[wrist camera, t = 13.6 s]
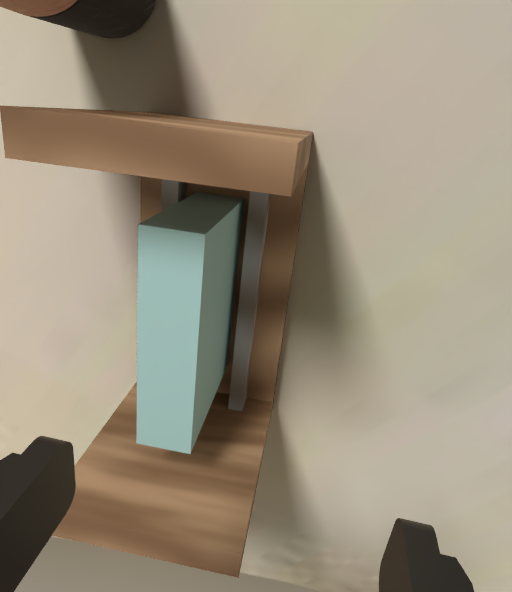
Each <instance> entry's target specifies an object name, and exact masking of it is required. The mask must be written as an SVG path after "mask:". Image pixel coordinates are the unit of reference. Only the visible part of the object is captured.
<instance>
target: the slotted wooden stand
mask: <svg viewBox="0 0 512 592" xmlns="http://www.w3.org/2000/svg"><path fill="white" fill-rule="evenodd" d="M0 112H1V122H2V131H3V141H4V150H5V158H11V159H18V160H25V161H33V162H40V163H47V164H55V165H62V166H69V167H77V168H84V169H91V170H99V171H106V172H113V173H121V174H128V175H135V176H141V223H142V222H143V221H145V220H147V219H149V218H151V217H153V216H154V215H156V214H158V213H160V212H162V211H164V210H165V209H167V208H169V207H171V206H173V205H175V204H176V203H178V202H180V201H182V200H184V199H186V198H187V197H189V196H191V195H193V194H195V193H197V192H202V193H209V194H216V195H223V196H231V197H238V198H244V208H243V218H242V228H241V238H240V248H239V258H238V268H237V278H236V288H235V299H234V309H233V319H232V329H231V339H230V349H229V359H228V365H227V368H226V370H225V372H224V375H223V377H222V380H221V382H220V384H219V387H218V389H217V392H216V394H215V396H214V399H213V401H212V404H211V406H210V409H209V411H208V413H207V416H206V418H205V421H204V423H203V425H202V428H201V430H200V433H199V435H198V437H197V440H196V442H195V445H194V447H193V449H192V452H191V454H187V453H182V452H177V451H172V450H167V449H162V448H157V447H152V446H147V445H142V444H137V443H136V436H137V382H136V383H135V385H134V386H133V387H132V389H131V390H130V392H129V393H128V394H127V396H126V397H125V398H124V400H123V401H122V402H121V404H120V405H119V406H118V408H117V409H116V411H115V412H114V413H113V415H112V416H111V417H110V419H109V420H108V421H107V423H106V424H105V425H104V427H103V428H102V430H101V431H100V432H99V434H98V435H97V436H96V438H95V439H94V440H93V442H92V443H91V445H90V446H89V447H88V449H87V450H86V451H85V453H84V454H83V455H82V457H81V458H80V459H79V461H78V462H77V464H76V465H75V466H74V468H75V481H76V489H75V494H74V498H73V501H72V504H71V506H70V508H69V510H68V512H67V513H66V515H65V516H64V518H63V519H62V521H61V522H60V524H59V525H58V527H57V528H56V530H55V531H54V533H53V534H52V535H53V536H57V537H62V538H66V539H71V540H75V541H79V542H84V543H88V544H93V545H97V546H101V547H106V548H110V549H115V550H119V551H123V552H128V553H132V554H137V555H141V556H146V557H150V558H154V559H159V560H163V561H168V562H172V563H176V564H181V565H185V566H190V567H195V568H199V569H203V570H208V571H212V572H216V573H221V574H226V575H229V576H234V577H239V573H240V568H241V563H242V558H243V553H244V547H245V542H246V537H247V532H248V527H249V522H250V517H251V512H252V507H253V502H254V497H255V492H256V487H257V482H258V477H259V472H260V467H261V462H262V457H263V452H264V447H265V442H266V437H267V432H268V427H269V422H270V417H271V412H272V405H273V398H274V392H275V385H276V378H277V372H278V365H279V358H280V351H281V345H282V338H283V331H284V324H285V318H286V311H287V304H288V297H289V291H290V284H291V277H292V270H293V264H294V257H295V250H296V243H297V237H298V230H299V223H300V217H301V210H302V203H303V196H304V190H305V183H306V176H307V169H308V163H309V156H310V149H311V142H312V136H313V132H309V131H301V130H293V129H284V128H276V127H268V126H259V125H251V124H243V123H235V122H226V121H218V120H210V119H201V118H193V117H185V116H177V115H168V114H160V113H152V112H132V111H109V110H86V109H63V108H40V107H17V106H0Z"/></svg>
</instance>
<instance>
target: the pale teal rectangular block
mask: <svg viewBox="0 0 512 592" xmlns="http://www.w3.org/2000/svg"><path fill="white" fill-rule="evenodd" d="M243 208H244V198H238V197H231V196H223V195H216V194H209V193H202V192H197V193H195V194H193V195H191V196H189V197H187V198H186V199H184V200H182V201H180V202H178V203H176V204H175V205H173V206H171V207H169V208H167V209H165V210H164V211H162V212H160V213H158V214H156V215H154V216H153V217H151V218H149V219H147V220H145V221H143V222H142V223H140V224H138V296H137V436H136V443H137V444H142V445H147V446H152V447H157V448H162V449H167V450H172V451H177V452H182V453H187V454H191V452H192V449H193V447H194V445H195V442H196V440H197V437H198V435H199V433H200V430H201V428H202V425H203V423H204V421H205V418H206V416H207V413H208V411H209V409H210V406H211V404H212V401H213V399H214V396H215V394H216V392H217V389H218V387H219V384H220V382H221V380H222V377H223V375H224V372H225V370H226V368H227V365H228V359H229V349H230V339H231V329H232V319H233V309H234V299H235V288H236V278H237V268H238V258H239V248H240V238H241V228H242V218H243Z"/></svg>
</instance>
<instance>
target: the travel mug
mask: <svg viewBox="0 0 512 592" xmlns="http://www.w3.org/2000/svg"><path fill="white" fill-rule="evenodd" d="M155 2H156V0H0V7H3V8H6V9H9V10H11V11H14V12H17V13H20V14H23V15H27V16H30V17H33V18H37V19H40V20H44V21H47V22H51V23H54V24H58V25H61V26H64V27H68V28H71V29H75V30H78V31H82V32H85V33H89V34H92V35H96V36H100V37H105V38H120V37H124V36H127V35H129V34H131V33H133V32H135V31H136V30H138V29H139V28H140V27H141V26H142V25H143V24H144V23H145V22H146V20H147V19H148V18H149V16H150V14H151V12H152V10H153V8H154V5H155Z"/></svg>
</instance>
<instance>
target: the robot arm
mask: <svg viewBox="0 0 512 592" xmlns="http://www.w3.org/2000/svg"><path fill="white" fill-rule="evenodd" d="M75 489H76V481H75V468H74V455H73V446H72V444H71V443H70V442H67V441H62V440H58V439H54V438H49V437H45V436H40V437H38V438H36V439H35V440H34V441H33V442H32V443H31V444H30V445H29V446H28V448H27V449H26V450H25V451H24V452H23V453H22V454H21V455H20V454H16V453H12V454H10V455H8V456H7V457H5V458H3V459H2V460H0V592H14V591H15V589H16V588H17V586H18V585H19V583H20V582H21V580H22V579H23V577H24V576H25V574H26V573H27V571H28V570H29V568H30V567H31V565H32V564H33V562H34V561H35V559H36V558H37V556H38V555H39V553H40V552H41V550H42V549H43V547H44V546H45V545H46V543H47V542H48V540H49V538H50V537H51V536H52V534H53V533H54V531H55V530H56V528H57V527H58V525H59V524H60V522H61V521H62V519H63V518H64V516H65V515H66V513H67V512H68V510H69V508H70V506H71V504H72V501H73V498H74V494H75ZM379 592H474V589H473V586H472V583H471V581H470V580H469V578H468V576H467V575H466V573H465V572H464V570H463V568H462V567H461V565H460V564H459V562H458V561H457V559H456V558H455V557H450V556H446V555H442V554H440V552H439V547H438V543H437V538H436V534H435V531H434V528H433V527H432V526H431V525H427V524H422V523H418V522H414V521H409V520H405V519H400V518H398V519H397V520H396V521H395V524H394V527H393V530H392V532H391V535H390V538H389V541H388V544H387V547H386V550H385V552H384V555H383V558H382V561H381V566H380V574H379Z"/></svg>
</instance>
